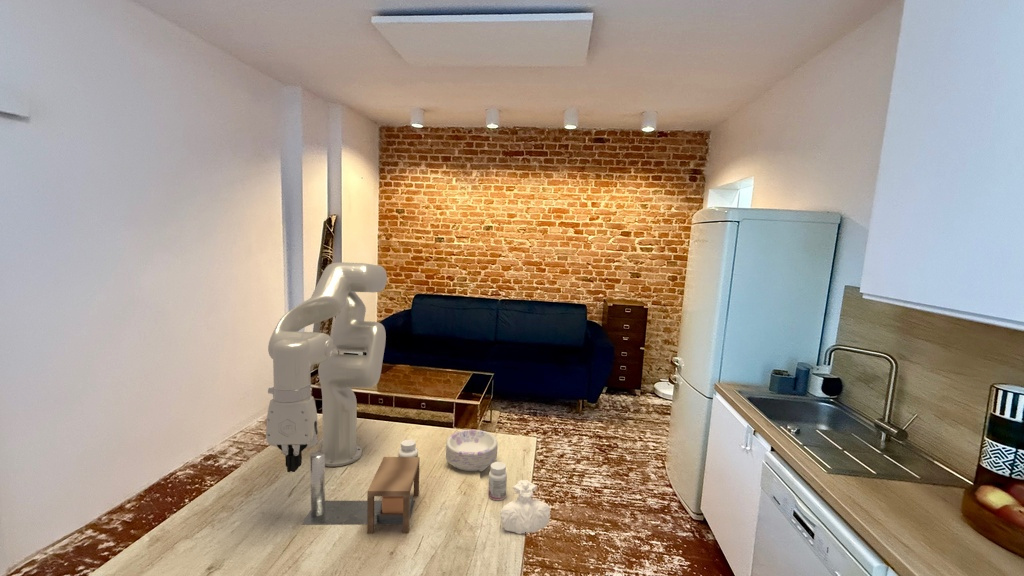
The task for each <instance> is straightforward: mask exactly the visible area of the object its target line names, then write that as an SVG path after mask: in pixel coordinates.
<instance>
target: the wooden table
mask: <svg viewBox="0 0 1024 576" xmlns="http://www.w3.org/2000/svg"><path fill="white" fill-rule="evenodd" d="M420 458H421V457H420V456H418V457H398V456H383V458H382V459H381V462H380V464H379V466H378V468H377V471H376V472H375V474H374V477H373V478H372V481H371V483H370V484H369V486H368V489H367V493H366V494H367V497H366V498H367V499H366V501H367V526H366V529H367V530H366V531H367V533H366V534H373V533H374V531H375V525H374V501H375V497H381V498H383V496H403V524H402V534H409V533H410V521H411V518H410V497H411V491H412V487H413V497H419V495H420V463H421V462H420Z"/></svg>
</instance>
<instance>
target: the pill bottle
mask: <svg viewBox="0 0 1024 576" xmlns="http://www.w3.org/2000/svg"><path fill="white" fill-rule="evenodd" d="M506 466H507V465H506V463H504V462H503V461H494V462H493V463H492V464H490V471H489V473H488V491H487V492H488V493H487V494H488V497H489V498H490V499H491V500H492V501H502V500H505V498H507V486H508V485H507V484H508V483H507V481H508V473H507V471H506V469H507V467H506Z"/></svg>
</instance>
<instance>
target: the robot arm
mask: <svg viewBox="0 0 1024 576" xmlns="http://www.w3.org/2000/svg"><path fill="white" fill-rule="evenodd" d="M387 282H388V274H387V271H386V269H385V268H384V267H383V266H382V265H378V264H373V263H372V264H370V263H364V262H344V261H343V262H333V263H330V264H328V265H327V266H326V267H325V268H324V270H323V272H322V274H321V276H320V277H319V280H318V282H317V285H316V287H315V288H314V290H313V292H312V294H311V297H310V298H308V299H306V300H304V301H303V302H301V303H299V304H298V305H296V306H295V307H293V308H292V309H290V310H288V311H287V312H286V313H285V314H284V315H282V316H281V318H280V319H279V321H278V322H277V324H276V326H275V328H274V330H273V332H272V334H271V336H270V339H269V341H268V345H267V346H268V347H267V351H268V355H269V357H270V358H271V360H272V368H273V372H272V373H273V387H268V390H267V394H269V395H272V399H270V401H269V404H268V408H267V414H266V424H265V425H266V426H265V440H266V443H267V444H268V445H269V446H271V447H276V448H278V449H279V450H280V451H281V452H282V454H283V456H284V457H285V467H286V473H291V472H292V473H296V472H297V471H298V469H299V468H300V467H301V466H302V463H303V459H302V456H303V454H302V453H303V451H304V450H305V449H306V448H311V447H315V446H316V445H317V444H319V445H321V451H319V452H323V453H324V454H325V467H333V468H334V467H335V468H336V467H342V466H347V465H350V464H352V463H355V462H356V461H358V460H359V459H360V458H361V457H362V455H363V449H362V447H361V446H360V445H357V441H358V440H357V438H358V436H357V432H358V431H357V430H358V429H357V428H358V427H357V425H358V424H357V420H358V418H357V413H358V412H357V410H358V408H357V407H358V405H357V398H356V397H357V396H356V394H355V392H354V391H353V389H352V388H367V389H369V388H374V387H376V386H377V384H378V383H379V381H380V380H381V379H380V378H381V374H382V367H383V360H384V355H385V354H384V353H385V348H386V341H387V340H386V338H387V336H386V334H387V333H386V329H385V326H384V325H383V324H382V323H381V322H378V321H371V320H367V321H366V320H365V317H366V311H367V307H366V305H365V303H364V301H363V300H362V298H361V297H359V295H358V294H357V293H371V294H372V293H380V292H382V291H383V290H384V289H385V288H386V286H387V284H388V283H387ZM332 318H334V323H333V327H332V333H331V336H330V335H329V334H327V333H325V332H314V331H301V330H302V329H305V328H306V327H309V326H311V325H313V324H317V323H320V322H324V321H326V320H327V321H328V320H330V319H332ZM334 350H336V351H339V352H348V353H349V352H350V353H351V352H352V353H353V352H355V353H366V355H365V354H340V353H339V354H338V353H337V354H336V353H335V354H333V352H334ZM318 364H319V365H318ZM314 365H318V369H317V370H318V372H317V373H318V378H319V379H318V380H319V383H320V388H321V389H320V390H321V396H322V397H321V399H322V405H321V406H322V438H321V439H319V440H318V436H317V435H318V434H319V421H318V412H317V410H318V409H317V406H316V400H315V397H314V396H312V395H311V393H312V389H311V388H312V386H311V382H312V381H311V366H314Z"/></svg>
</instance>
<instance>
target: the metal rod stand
mask: <svg viewBox="0 0 1024 576" xmlns="http://www.w3.org/2000/svg"><path fill="white" fill-rule="evenodd" d="M325 467H326V466H325V454H324V453H323V452H320V451H317V452H313V453H312V454H310V511H309V512H308V514H307V515H306V517H305V518H304V520H303V522H302V523H301V526H303V525H304V526H330V525H331V526H332V525H333V526H334V525H335V526H342V525H345V526H347V525H349V526H352V525H358V526H359V525H367V500H326V484H325V483H326V472H325V471H326V470H325V469H326V468H325ZM413 498H414V496H413V497H412V496H410V519H411V517H412V513H413V510H414V507H415V504H416V503H415V502H416V500H413ZM375 525H379V526H380V525H381V526H382V525H386V526H387V525H403V514H382V500H374V526H375Z"/></svg>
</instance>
